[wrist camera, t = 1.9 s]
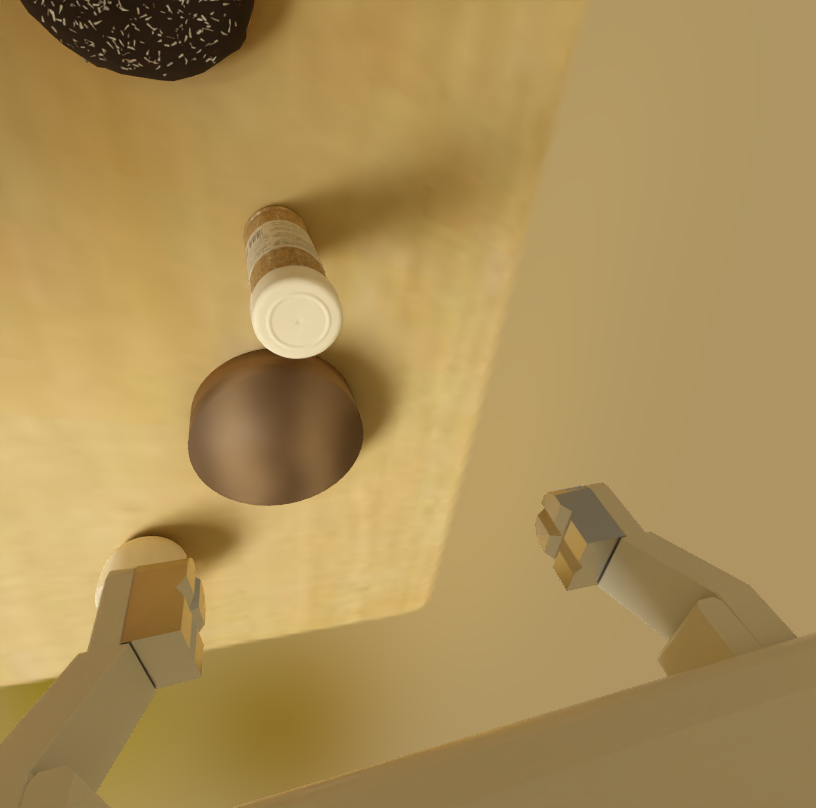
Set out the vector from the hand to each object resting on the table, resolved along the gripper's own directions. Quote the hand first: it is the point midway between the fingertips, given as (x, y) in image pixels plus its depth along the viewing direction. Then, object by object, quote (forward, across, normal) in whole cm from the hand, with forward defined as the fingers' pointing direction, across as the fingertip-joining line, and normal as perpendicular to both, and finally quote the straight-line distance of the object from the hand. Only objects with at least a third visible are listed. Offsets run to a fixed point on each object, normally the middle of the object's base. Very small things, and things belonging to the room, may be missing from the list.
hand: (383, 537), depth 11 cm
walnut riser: (+29, +3, +18) cm, 34 cm away
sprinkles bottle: (+29, +1, +3) cm, 29 cm away
